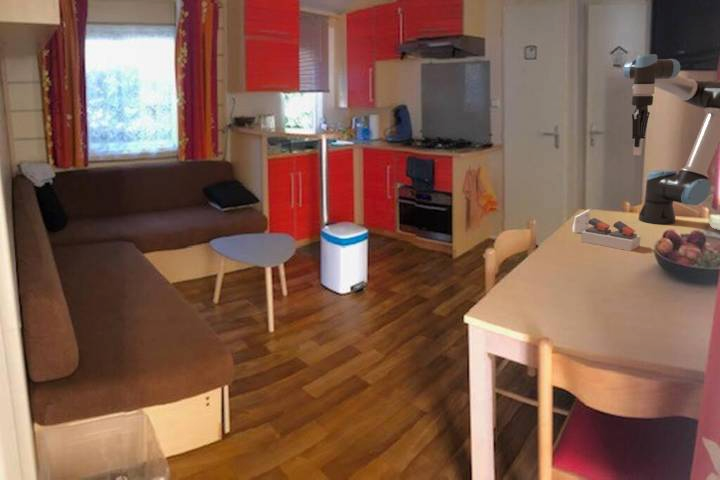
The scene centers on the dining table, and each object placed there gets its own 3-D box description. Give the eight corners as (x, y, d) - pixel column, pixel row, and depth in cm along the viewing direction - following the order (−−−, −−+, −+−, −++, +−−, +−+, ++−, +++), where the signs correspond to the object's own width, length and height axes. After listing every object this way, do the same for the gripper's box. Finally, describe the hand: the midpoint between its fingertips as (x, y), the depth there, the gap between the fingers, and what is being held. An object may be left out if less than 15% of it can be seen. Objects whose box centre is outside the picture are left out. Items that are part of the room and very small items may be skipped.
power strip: (590, 237, 252) (591, 225, 251) (639, 245, 239) (640, 233, 237) (580, 241, 246) (581, 229, 245) (630, 250, 233) (631, 238, 231)
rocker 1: (592, 222, 248) (594, 217, 247) (607, 230, 244) (610, 225, 243) (587, 224, 245) (589, 219, 244) (602, 232, 241) (605, 227, 240)
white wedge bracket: (599, 227, 258) (590, 210, 256) (577, 238, 260) (568, 221, 258) (596, 225, 261) (587, 208, 260) (575, 236, 263) (566, 219, 262)
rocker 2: (616, 225, 241) (619, 220, 240) (632, 235, 238) (635, 230, 237) (611, 227, 238) (614, 223, 237) (627, 237, 235) (630, 233, 233)
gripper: (639, 94, 246) (633, 152, 252) (626, 95, 237) (621, 155, 243) (658, 94, 241) (652, 153, 247) (646, 96, 232) (640, 157, 238)
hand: (636, 154), depth 245 cm, fingers closed
